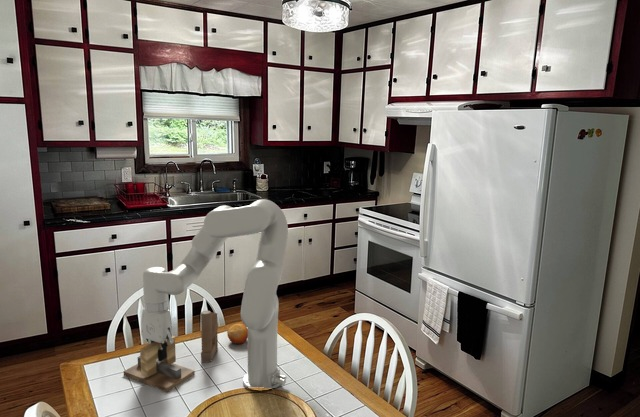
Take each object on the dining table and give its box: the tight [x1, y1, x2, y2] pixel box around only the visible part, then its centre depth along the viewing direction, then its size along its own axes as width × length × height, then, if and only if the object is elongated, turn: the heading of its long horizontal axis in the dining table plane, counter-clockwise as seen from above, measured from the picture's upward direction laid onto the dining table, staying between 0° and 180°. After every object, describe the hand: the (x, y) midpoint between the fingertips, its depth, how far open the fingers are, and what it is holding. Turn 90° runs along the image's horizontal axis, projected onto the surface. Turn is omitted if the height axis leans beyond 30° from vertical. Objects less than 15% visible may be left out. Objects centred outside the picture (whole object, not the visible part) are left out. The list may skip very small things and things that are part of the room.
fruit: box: [226, 323, 248, 345], centre depth 179 cm, size 8×8×8 cm
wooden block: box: [200, 310, 219, 363], centre depth 167 cm, size 4×11×18 cm, turn 0°
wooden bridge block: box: [139, 335, 177, 377], centre depth 153 cm, size 3×12×9 cm, turn 152°
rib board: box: [123, 356, 196, 393], centre depth 154 cm, size 20×12×4 cm, turn 62°
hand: (158, 357), depth 153 cm, fingers closed on wooden bridge block, 3 cm apart
